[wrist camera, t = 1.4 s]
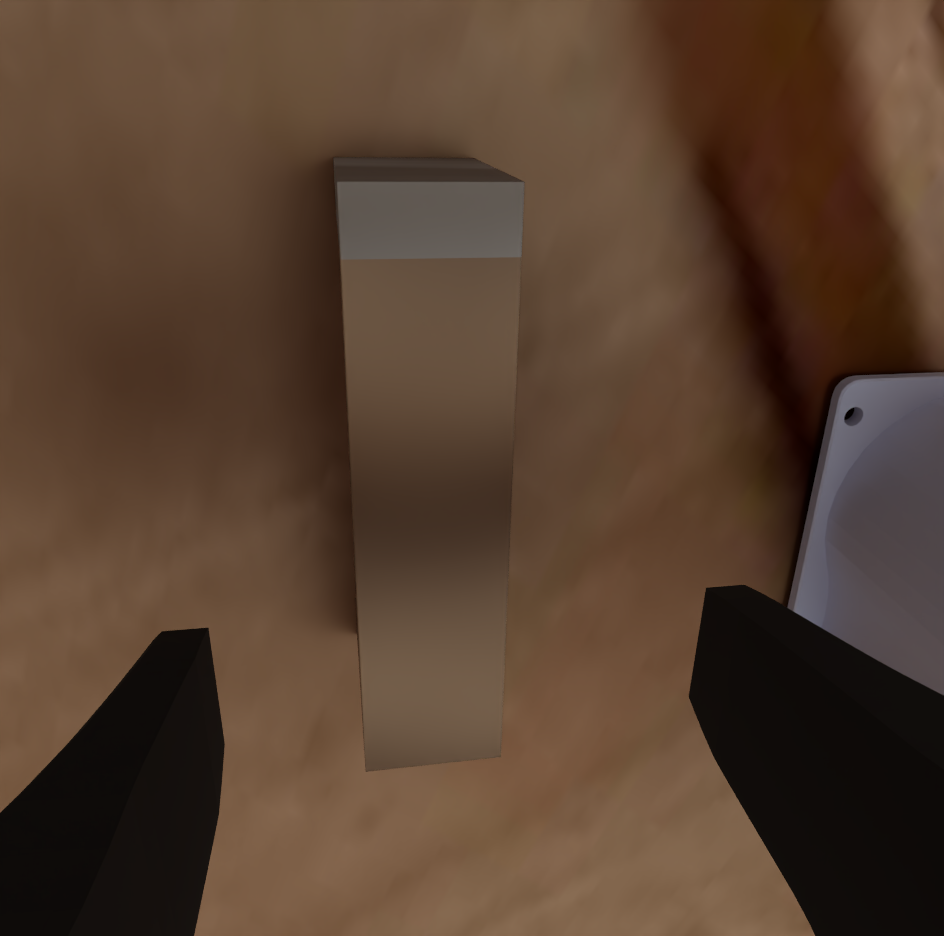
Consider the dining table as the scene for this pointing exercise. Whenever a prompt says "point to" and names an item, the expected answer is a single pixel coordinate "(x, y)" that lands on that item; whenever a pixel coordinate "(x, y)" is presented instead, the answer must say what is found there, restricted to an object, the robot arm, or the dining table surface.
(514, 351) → the wooden arch block
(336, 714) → the dining table surface
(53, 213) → the dining table surface
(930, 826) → the robot arm
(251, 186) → the dining table surface
